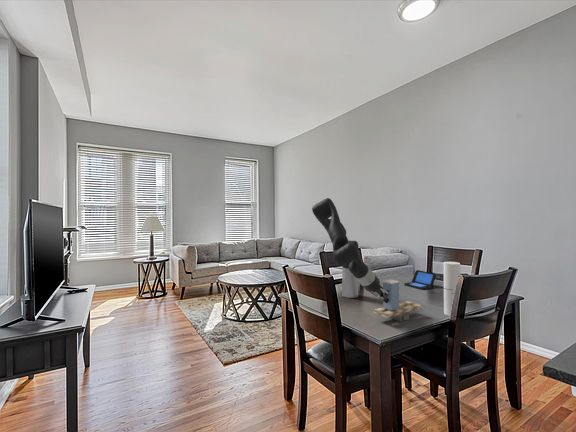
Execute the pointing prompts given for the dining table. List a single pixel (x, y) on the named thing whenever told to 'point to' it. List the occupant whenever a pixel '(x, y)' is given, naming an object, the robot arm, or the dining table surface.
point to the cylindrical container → (450, 284)
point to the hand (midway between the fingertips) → (387, 301)
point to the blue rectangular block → (391, 294)
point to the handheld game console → (422, 280)
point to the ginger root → (398, 311)
